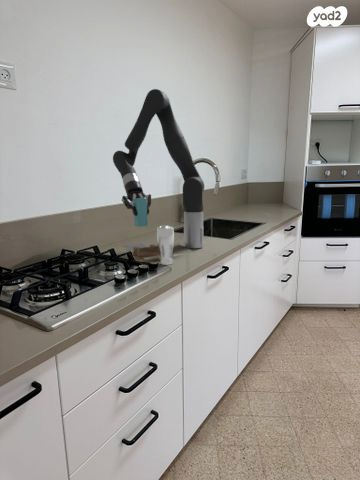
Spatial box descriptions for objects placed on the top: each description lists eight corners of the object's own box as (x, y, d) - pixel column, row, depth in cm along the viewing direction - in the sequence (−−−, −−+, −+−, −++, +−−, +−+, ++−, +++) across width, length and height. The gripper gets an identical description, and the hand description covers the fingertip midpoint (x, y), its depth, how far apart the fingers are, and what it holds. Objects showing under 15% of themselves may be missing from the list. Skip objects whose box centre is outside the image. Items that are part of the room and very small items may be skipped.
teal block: (134, 225, 155) (133, 198, 153) (144, 224, 157) (143, 197, 155) (138, 226, 151) (136, 199, 149) (147, 225, 153) (146, 198, 151)
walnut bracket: (124, 254, 154) (124, 243, 152) (157, 250, 160) (157, 240, 159) (136, 264, 140) (136, 252, 138) (172, 258, 146) (172, 247, 145)
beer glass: (168, 266, 136) (167, 229, 133) (154, 263, 140) (153, 227, 136) (177, 262, 142) (177, 226, 138) (163, 259, 145) (163, 224, 142)
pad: (122, 247, 166) (122, 245, 166) (142, 245, 171) (141, 243, 170) (129, 252, 158) (128, 250, 157) (149, 249, 162) (149, 247, 162)
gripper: (118, 180, 153) (128, 210, 146) (148, 179, 159) (159, 207, 152) (116, 191, 159) (125, 221, 151) (145, 189, 165) (155, 218, 157)
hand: (142, 214), depth 152 cm, fingers closed on teal block, 4 cm apart
